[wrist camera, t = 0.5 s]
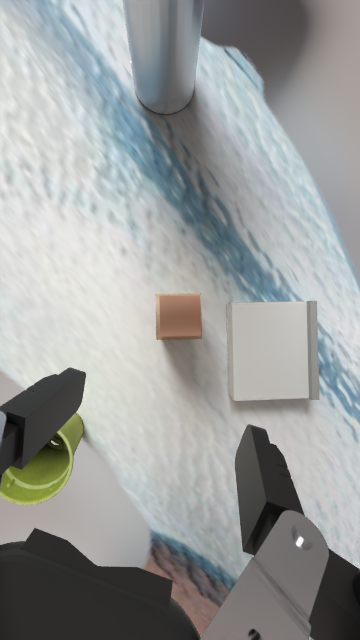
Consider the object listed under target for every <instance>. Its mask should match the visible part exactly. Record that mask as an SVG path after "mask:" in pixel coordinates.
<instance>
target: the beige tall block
mask: <svg viewBox="0 0 360 640" xmlns="http://www.w3.org/2000/svg"><path fill="white" fill-rule="evenodd" d="M156 339H157V340H164V339H202V329H201V294H156Z"/></svg>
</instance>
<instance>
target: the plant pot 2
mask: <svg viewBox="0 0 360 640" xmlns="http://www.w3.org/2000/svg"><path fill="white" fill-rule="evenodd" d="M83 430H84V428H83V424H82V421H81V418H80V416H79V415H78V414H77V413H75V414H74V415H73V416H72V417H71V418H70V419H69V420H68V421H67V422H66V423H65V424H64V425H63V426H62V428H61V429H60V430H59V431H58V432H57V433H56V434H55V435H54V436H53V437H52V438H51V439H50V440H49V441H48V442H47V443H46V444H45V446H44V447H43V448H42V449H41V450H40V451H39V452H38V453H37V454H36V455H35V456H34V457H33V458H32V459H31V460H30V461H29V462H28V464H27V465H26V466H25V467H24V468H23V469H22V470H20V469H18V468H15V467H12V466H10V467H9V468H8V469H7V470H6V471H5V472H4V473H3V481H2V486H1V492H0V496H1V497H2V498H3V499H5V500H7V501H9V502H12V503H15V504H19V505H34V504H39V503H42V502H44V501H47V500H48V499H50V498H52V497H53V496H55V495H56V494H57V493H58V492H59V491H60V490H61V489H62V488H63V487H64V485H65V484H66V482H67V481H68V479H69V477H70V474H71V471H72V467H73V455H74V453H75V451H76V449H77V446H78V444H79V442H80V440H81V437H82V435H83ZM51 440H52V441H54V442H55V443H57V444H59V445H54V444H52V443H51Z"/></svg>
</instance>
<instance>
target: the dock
mask: <svg viewBox="0 0 360 640" xmlns="http://www.w3.org/2000/svg"><path fill="white" fill-rule="evenodd" d="M227 348H228V393H229V396H230V397H231V398H232V399H233V400H234V401H249V400H274V399H299V398H310V399H312V400H319V370H318V332H317V301H306V302H242V303H229V304H227Z"/></svg>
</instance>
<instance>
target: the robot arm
mask: <svg viewBox="0 0 360 640" xmlns="http://www.w3.org/2000/svg"><path fill="white" fill-rule="evenodd" d="M123 6H124V14H125V21H126V28H127V36H128V43H129V50H130V59H131V66H132V73H133V80H134V87H135V92H136V94H137V96H138V98H139V100H140V101H141V103H142V104H143V105H144V106H146V107H147V108H148V109H150V110H151V111H154V112H156V113H160V114H172V113H175V112H178V111H180V110H181V109H183V108H184V107H185V106H186V105H187V104H188V103H189V101H190V100H191V98H192V95H193V91H194V83H195V75H196V66H197V59H198V50H199V41H200V33H201V24H202V15H203V7H204V0H123ZM85 378H86V373H85V372H83V371H80V370H77V369H74V368H68V369H66V370H65V371H63V372H62V373H61V374H59V375H57V374H54V375H51V376H48V377H45V378H43V379H41V380H40V381H38V382H37V383H35V384H34V385H32V386H31V387H29V388H28V389H27V390H26V391H25V390H24V391H23V392H21V393H20V394H18V395H17V396H15V397H14V398H13V399H11V400H9V401H8V402H6V403H5V404H3V405H2V406H0V492H1V486H2V481H3V473H4V472H5V471H6V470H7V469H8V468H9V467H10V466H12V467H15V468H18V469H20V470H22V469H23V468H24V467H25V466H26V465H27V464H28V462H29V461H30V460H31V459H32V458H33V457H34V456H35V455H36V454H37V453H38V452H39V451H40V450H41V449H42V448H43V447H44V446H45V444H46V443H47V442H48V441H49V440H50V439H51V438H52V437H53V436H54V435H55V434H56V433H57V432H58V431H59V430H60V429H61V428H62V426H63V425H64V424H65V423H66V422H67V421H68V420H69V419H70V418H71V417H72V416H73V415H74V414H75V413H76V411H77V410H78V408H79V407H80V405H81V402H82V398H83V391H84V385H85ZM287 468H288V467H287V464H286V461H285V458H284V456H283V454H282V453H281V452H280V450H279V449H278V448H277V446H276V445H274V444H271V443H270V442H269V438H268V435H267V432H266V430H265V429H262V428H259V427H256V426H253V425H250V424H248V425H247V427H246V429H245V432H244V434H243V437H242V439H241V442H240V444H239V447H238V449H237V453H236V457H235V471H236V482H237V493H238V503H239V514H240V525H241V536H242V546H243V552H246V553H249V554H252V555H254V557H253V558H252V559H251V560H250V562H249V563H248V565H247V566H246V568H245V570H244V571H243V573H242V574H241V576H240V577H239V579H238V581H237V582H236V584H235V585H234V587H233V588H232V590H231V592H230V593H229V595H228V596H227V598H226V600H225V601H224V603H223V604H222V606H221V607H220V609H219V611H218V612H217V614H216V615H215V617H214V619H213V620H212V622H211V623H210V625H209V626H208V628H207V630H206V631H205V633H204V634H203V636H202V637H200V635H199V633H198V631H197V629H196V628H195V626H194V624H193V622H192V621H191V619H190V618H189V617H188V615H187V614H186V612H185V611H184V610H183V609H182V607H181V606H180V605H179V604H178V603H177V602H176V601H175V600H174V599H173V598H171V590H172V583H173V581H172V580H169V579H167V578H164V577H161V576H159V575H156V574H154V573H151V572H148V571H146V570H143V569H141V568H138V567H101V566H97V565H95V564H94V563H92V562H91V561H90V560H89V559H88V558H87V557H86V556H84V555H83V554H82V553H81V552H80V551H79V550H78V549H76V548H75V547H74V546H73V545H72V544H71V543H70V542H68V541H67V540H64V539H62V538H60V537H57V536H54V535H51V534H49V533H47V532H44V531H41V530H39V529H36V528H35V529H34V530H33V531H32V533H31V534H30V536H29V537H28V538H27V540H26V541H20V542H11V543H7V544H3V545H0V640H308V639H309V636H310V637H312V638H313V639H314V640H360V569H358V568H357V567H355V566H354V565H352V564H351V563H349V562H348V561H346V560H345V559H343V558H342V557H340V556H339V555H337V554H336V553H334V552H333V551H332V550H330V549H329V548H328V546H327V543H326V541H325V539H324V537H323V535H322V534H321V532H320V531H319V529H318V528H317V527H316V526H315V525H314V524H313V523H312V522H311V521H310V520H309V519H308V518H307V517H305V515H304V513H303V510H302V507H301V504H300V501H299V498H298V495H297V493H296V490H295V487H294V484H293V481H292V479H291V475H290V473H289V470H288V469H287Z"/></svg>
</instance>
